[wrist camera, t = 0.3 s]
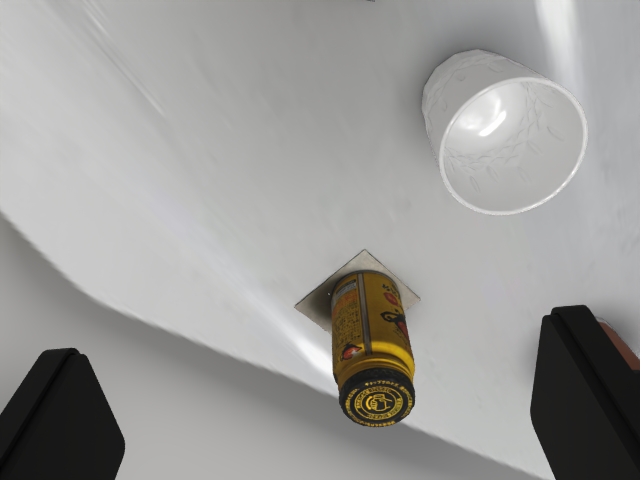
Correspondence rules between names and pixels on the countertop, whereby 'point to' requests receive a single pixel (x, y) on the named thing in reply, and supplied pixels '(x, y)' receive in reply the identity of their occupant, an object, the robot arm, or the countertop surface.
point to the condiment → (367, 340)
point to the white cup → (501, 132)
